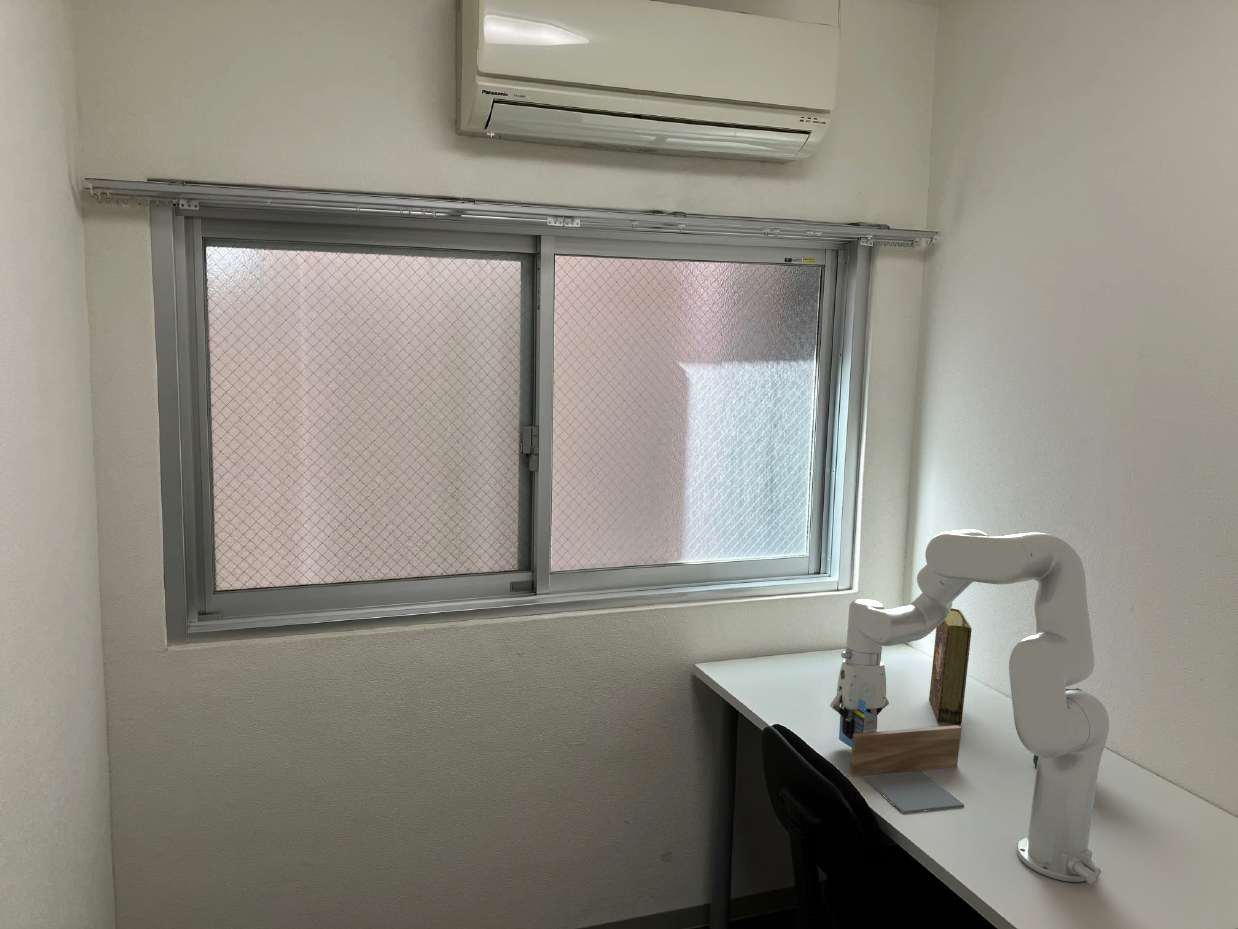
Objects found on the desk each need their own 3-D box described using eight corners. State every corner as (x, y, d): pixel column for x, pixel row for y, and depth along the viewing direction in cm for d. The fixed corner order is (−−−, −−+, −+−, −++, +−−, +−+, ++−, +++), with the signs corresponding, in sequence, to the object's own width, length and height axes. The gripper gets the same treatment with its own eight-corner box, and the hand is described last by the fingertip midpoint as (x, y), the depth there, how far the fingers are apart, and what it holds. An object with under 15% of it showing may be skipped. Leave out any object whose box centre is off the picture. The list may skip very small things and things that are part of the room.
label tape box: (876, 754, 191) (880, 700, 190) (861, 756, 190) (865, 702, 188) (851, 737, 199) (855, 685, 198) (837, 739, 198) (841, 687, 197)
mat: (963, 806, 174) (964, 804, 174) (902, 813, 171) (902, 811, 171) (921, 773, 188) (921, 771, 188) (864, 779, 184) (864, 776, 184)
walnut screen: (957, 766, 192) (961, 727, 191) (852, 776, 185) (856, 736, 184) (953, 764, 193) (957, 725, 192) (849, 773, 186) (853, 733, 185)
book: (928, 698, 230) (937, 606, 227) (949, 701, 229) (959, 609, 226) (937, 724, 214) (947, 625, 211) (961, 727, 213) (971, 628, 210)
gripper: (838, 664, 186) (832, 745, 188) (906, 659, 191) (900, 739, 193) (820, 652, 194) (815, 731, 196) (887, 648, 198) (881, 726, 200)
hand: (857, 734), depth 194 cm, fingers closed on label tape box, 4 cm apart
